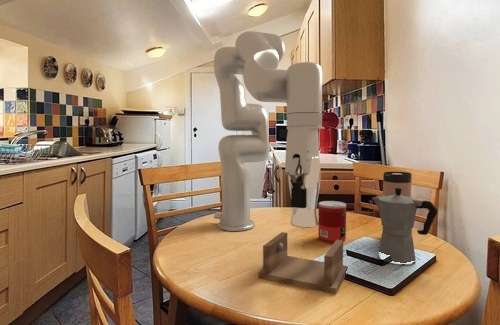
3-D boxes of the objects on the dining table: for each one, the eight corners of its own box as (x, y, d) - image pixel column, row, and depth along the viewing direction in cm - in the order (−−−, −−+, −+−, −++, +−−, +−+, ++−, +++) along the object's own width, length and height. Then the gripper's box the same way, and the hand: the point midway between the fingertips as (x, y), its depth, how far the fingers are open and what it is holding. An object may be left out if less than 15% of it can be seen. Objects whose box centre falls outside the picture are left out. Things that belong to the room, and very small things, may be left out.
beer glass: (313, 230, 66) (313, 158, 65) (283, 225, 69) (282, 157, 68) (324, 222, 72) (325, 156, 71) (296, 218, 75) (296, 155, 74)
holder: (258, 277, 70) (257, 245, 70) (278, 258, 81) (278, 231, 80) (336, 294, 62) (336, 258, 62) (347, 271, 73) (348, 240, 72)
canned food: (347, 244, 91) (347, 206, 90) (318, 243, 93) (318, 205, 92) (344, 236, 98) (345, 201, 98) (318, 235, 100) (318, 200, 99)
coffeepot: (362, 256, 82) (363, 187, 81) (379, 247, 88) (380, 183, 87) (427, 274, 71) (430, 194, 69) (441, 262, 77) (444, 189, 76)
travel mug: (409, 237, 97) (411, 171, 95) (410, 245, 90) (412, 174, 88) (382, 234, 100) (383, 171, 98) (381, 241, 93) (382, 173, 91)
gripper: (300, 124, 78) (300, 196, 80) (272, 121, 63) (272, 210, 64) (331, 123, 75) (330, 198, 76) (309, 120, 59) (309, 214, 61)
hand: (304, 203), depth 70 cm, fingers closed on beer glass, 6 cm apart
